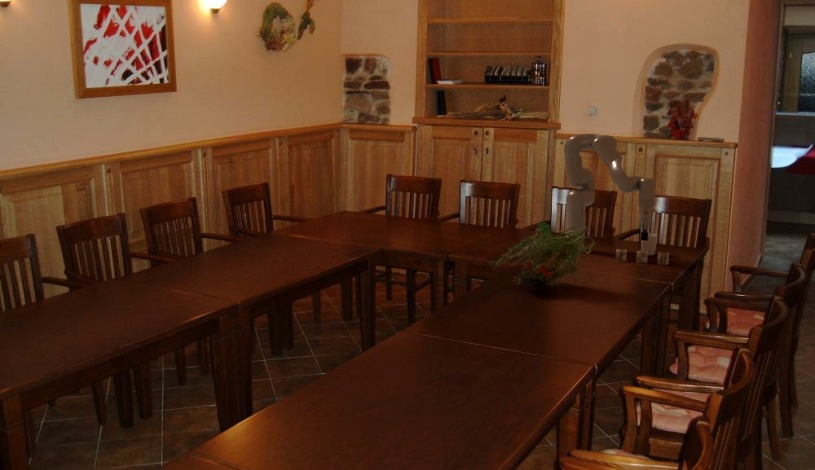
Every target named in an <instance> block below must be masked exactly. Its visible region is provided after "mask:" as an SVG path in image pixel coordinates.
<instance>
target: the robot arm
mask: <svg viewBox="0 0 815 470" xmlns="http://www.w3.org/2000/svg"><path fill="white" fill-rule="evenodd" d="M617 146H618V143H617V140H616V138H615V137H614V136H613V135H608V134H597V133H580V134H575V135H572V136H570V137H568V139H567V140H566V142H565V143H564V146H563V147H564V148H563V152H564V160H565V171H566V172H565V173H566V179H567V184H568V185H569V186H570V187H572V188H577V189H573V190H571V191H569V192H568V194H567V195H566V199H565V202H566V214H567V215H566V229H565V231H566V230H567V229H569V228H571V227H573V228H576V229H577V232H578V234H579V233H580V232H579V231H582V230H584V229H585V228H584V227H586V218H587V215H586V210H585V207H589V206H591V205H592V204H594V203H595V200H596V199H595V198H596V190H595V178H594V175H593V172H592V171H591V169H589V168H588V167H584V165H583V158H582V156H581V152H584V151H594V152H595V153H596V154H597V155H598V157H599V158H600V159H601V160H602V161H603V162H604V164H605V166H607V167H608V171H609V175H610V178H611V180H612V181H613V183H614V184H615V185H616V186H617V187H618V189H619V190H621V192H622V193H627V194H628V193H634V192H638V207H640V213H639V214H640V217H639V218H640V221H639V222H640V226H641V233H640V241H641V240H642V241H648V234H649V228H651V227H652V219H653V218H652V217H653V215H652V214H653V208H655V198H656V197H655V196H656V179H655V178H652V177H641V176H638V175H634V176H633V175H632V176H628V175H627V173H626V172H625V171H624V170H623V167H622V161H623V156H622V155H621V153H620V151H618V150H617ZM581 228H582V229H581ZM578 229H579V230H578ZM568 231H572V232H573V233H575V231H574V229H570V230H568ZM568 231H567V232H565V234H567V233H569V234H571V235H572V233H570V232H568ZM585 234H586V231H585V232H584V233H583V235H582V236H581V237H580V238H582V237H585ZM567 236H568V235H566V236H565V238H567ZM575 236H576V234H575ZM581 240H582V239H581ZM580 245H581V242H580ZM560 246H562V245H560ZM578 246H579V243H578ZM585 247H586V246H585V245H584V246H583V248H585ZM578 251H579V250H578ZM584 251H586V252H587V250H584ZM581 253H583V251H581Z"/></svg>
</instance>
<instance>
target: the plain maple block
mask: <svg viewBox="0 0 815 470" xmlns="http://www.w3.org/2000/svg"><path fill="white" fill-rule="evenodd" d="M648 257H649V255H648V251H641V250H636V258H635V260H636V263H637V264H640V263H641V264H648Z"/></svg>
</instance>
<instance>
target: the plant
mask: <svg viewBox="0 0 815 470" xmlns="http://www.w3.org/2000/svg"><path fill="white" fill-rule="evenodd" d="M537 223H538V224H536V226H537V227H535V228H534V229H535V230H538V231H536V232H535V233H536V234H535V235H522V237H524V239H523V240H520V241H519V242H516V243H514V244H513V247H510V248H507V252H506V253H503V254H501V255H500V256H497V260H496V259H495V260H494V261H492V260H490V261H491V262H490V261H488V263H489V265H490V266H495V268H493V269H492V271H493V270H495V269H496V268H498V266H502V265H503V264H504V263H505V264H508V263H509V262H510V261H511V260H512V259H513V258H517V259H516V260H515V261H514V262H513V263H512V264H511V263H510V264H509V265H510V267H511V266H514V265H515V264H517V263H519V262H521V261H522V260H525V259H526V260H525V261H523V263H522V264H524V266H523V267H522V270H521V273H520V274H519V275H518V276H514V277H513V279H512V280H511V282H515V283H516V282H517V281H518V283H517V285H520V283H522V282H523V284H524V285H525V286H526V287H529V288H532V287H535V288H537V289H538V288H539V289H540V290H543V291H545V292H548V291H550V290H551V288H552V289H554V286H555V287H557V288H558V290H560V286H558V284H559V285H560V284H561V282H562V283H563V282H564V283H567V284H568V282H571V281H572V280H574V281H577V280H578V278H579V277H581V274H584V275H582V277H581V278H580V280H582V279H584V277H585V276H586V274H585V273H587V272H590V271H594V270H596V269H600V267H597V268H594V269H590V270H587V271H583V272H581V273H579V270H581V269H583V268H584V267H585V264H587V263H589V262H590V261H589V260H587V259H589V258H590V256H588V257H585V258H583V256H584V255H585V253H586V254H591V253H592V249H591V248H593V246H595V244H596V242H595V240H594V239H593V237H591V236H587V235H586V236H585V237H582V238H580V237H581V236H582V235H583V233H584V232H585V233H586V231H587V230H588V229H589V226H585V227H584V228H585V229H584V230H582V231H579V232H580V233H579V234H578V232H577V229H576V228H573V227H571V228H569V229H567V230H566V229H565V230H564V231H562V230H558V229H556V231H557V232H559V234H557V235H555V233H553V230H552V228H551V227H550V225H549V224H548V223H547V222H545V221H539V220H537ZM570 229H574V231H575V233H573V232H572V231H568V230H570ZM581 229H582V228H581ZM578 230H579V229H578ZM567 231H568V232H570V233H572V235H571V234H569V233H567V234H566V232H567ZM563 234H564V235H563ZM575 234H576V236H575ZM537 235H539V237H537ZM566 235H568V236H567V238H566ZM581 239H582V240H581ZM586 239H591V240H592V242H591V243H590V245H587V246H585V240H586ZM580 242H581V245H580ZM578 243H579V246H578ZM560 245H562V246H560ZM583 246H584V247H585V248H583ZM515 250H516V251H515ZM517 250H518V251H517ZM578 250H579V251H578ZM584 250H586V251H584ZM587 250H588V251H587ZM581 251H583V252H584V253H583V252H581ZM581 253H583V254H582V255H581ZM499 257H501V258H499ZM586 260H587V261H586ZM495 262H496V264H495ZM526 262H527V263H526ZM583 262H584V263H583ZM492 264H494V265H492ZM525 264H526V265H525ZM566 276H568V277H566ZM592 277H596V275H595V276H591V278H592ZM515 278H516V279H515ZM561 278H562V279H561ZM587 278H590V276H588V277H586V279H587ZM570 279H571V280H570ZM567 281H568V282H567ZM568 285H569V284H568ZM550 286H551V287H550Z"/></svg>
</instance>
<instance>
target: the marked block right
mask: <svg viewBox="0 0 815 470" xmlns="http://www.w3.org/2000/svg"><path fill="white" fill-rule="evenodd" d="M669 260H670V253H669V252H660V251H659V252H658V251H657V260H656V261H657V265H664V266H667V265H669V262H670V261H669Z"/></svg>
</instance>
